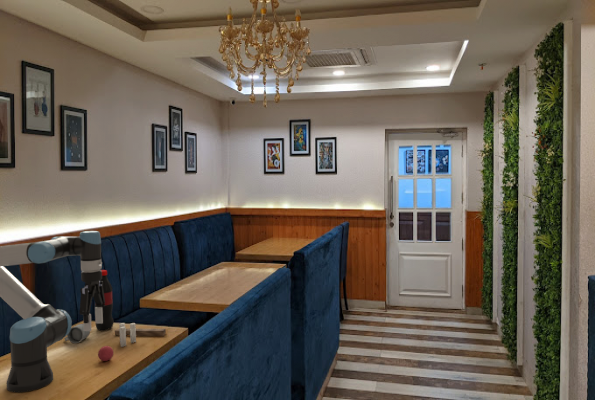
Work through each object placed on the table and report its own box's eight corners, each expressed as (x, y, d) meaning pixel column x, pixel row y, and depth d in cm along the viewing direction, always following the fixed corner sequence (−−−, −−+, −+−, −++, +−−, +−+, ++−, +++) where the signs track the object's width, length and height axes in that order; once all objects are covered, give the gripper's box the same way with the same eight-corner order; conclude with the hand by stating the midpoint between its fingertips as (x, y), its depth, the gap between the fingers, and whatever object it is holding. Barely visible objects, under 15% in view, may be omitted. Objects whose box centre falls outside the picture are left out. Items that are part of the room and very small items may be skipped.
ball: (98, 364, 191) (98, 350, 190) (97, 359, 196) (97, 345, 196) (114, 361, 193) (113, 347, 193) (112, 356, 199) (112, 342, 199)
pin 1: (120, 343, 215) (119, 325, 215) (119, 341, 217) (119, 323, 217) (125, 342, 216) (125, 324, 216) (125, 340, 218) (124, 322, 218)
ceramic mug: (91, 337, 224) (90, 321, 224) (83, 343, 216) (82, 327, 215) (70, 337, 224) (69, 322, 224) (60, 343, 216) (59, 327, 216)
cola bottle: (100, 326, 241) (98, 268, 239) (116, 326, 240) (114, 268, 239) (92, 331, 232) (90, 272, 231) (109, 331, 232) (107, 272, 230)
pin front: (120, 347, 210) (120, 328, 210) (120, 345, 212) (119, 327, 212) (126, 346, 211) (125, 327, 211) (125, 344, 213) (125, 326, 213)
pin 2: (130, 343, 215) (130, 325, 215) (130, 341, 217) (129, 323, 217) (136, 342, 216) (135, 324, 216) (135, 340, 218) (135, 322, 218)
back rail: (165, 333, 227) (165, 328, 227) (163, 335, 224) (163, 330, 224) (117, 333, 229) (117, 328, 229) (115, 335, 226) (114, 330, 226)
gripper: (87, 276, 173) (89, 336, 174) (113, 265, 194) (114, 318, 195) (67, 276, 173) (69, 336, 174) (95, 265, 194) (97, 318, 195)
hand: (93, 326), depth 185 cm, fingers open, 9 cm apart
